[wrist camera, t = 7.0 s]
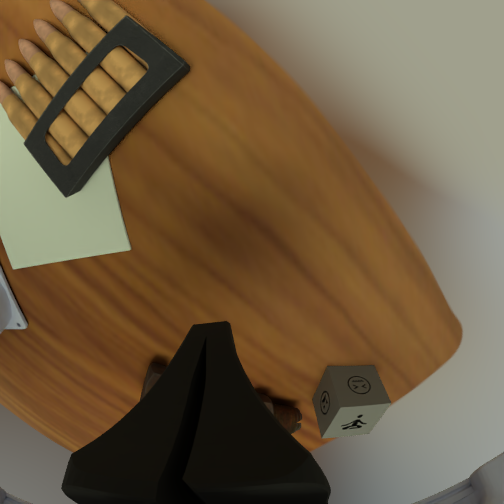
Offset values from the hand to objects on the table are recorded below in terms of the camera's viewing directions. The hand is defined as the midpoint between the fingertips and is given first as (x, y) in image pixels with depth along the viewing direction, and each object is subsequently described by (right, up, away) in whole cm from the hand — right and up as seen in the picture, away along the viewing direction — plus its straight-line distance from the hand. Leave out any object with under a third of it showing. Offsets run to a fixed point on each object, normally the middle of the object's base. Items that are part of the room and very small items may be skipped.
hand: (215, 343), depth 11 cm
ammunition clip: (-6, +10, +5) cm, 13 cm away
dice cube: (+10, -9, +17) cm, 22 cm away
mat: (-14, +9, +6) cm, 18 cm away
